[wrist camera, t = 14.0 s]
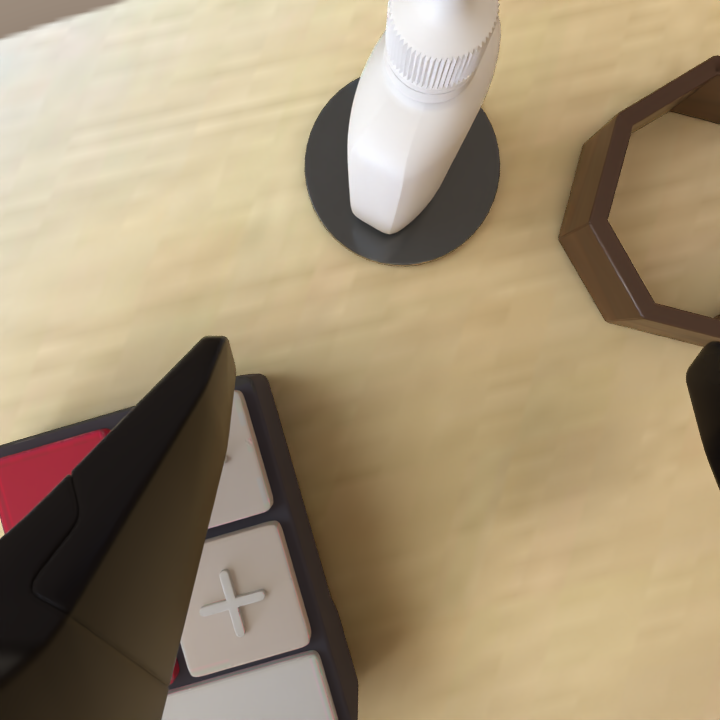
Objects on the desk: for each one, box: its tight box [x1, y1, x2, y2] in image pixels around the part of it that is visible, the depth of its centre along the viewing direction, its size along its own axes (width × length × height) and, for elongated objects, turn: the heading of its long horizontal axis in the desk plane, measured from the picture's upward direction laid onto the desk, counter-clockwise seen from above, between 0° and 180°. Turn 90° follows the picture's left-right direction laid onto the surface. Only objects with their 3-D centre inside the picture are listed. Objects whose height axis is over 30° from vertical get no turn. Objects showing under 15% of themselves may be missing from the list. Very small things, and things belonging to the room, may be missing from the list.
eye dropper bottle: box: [348, 0, 501, 234], centre depth 15 cm, size 4×6×12 cm
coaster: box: [305, 77, 500, 266], centre depth 22 cm, size 8×8×1 cm
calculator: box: [0, 374, 358, 720], centre depth 20 cm, size 11×4×15 cm
